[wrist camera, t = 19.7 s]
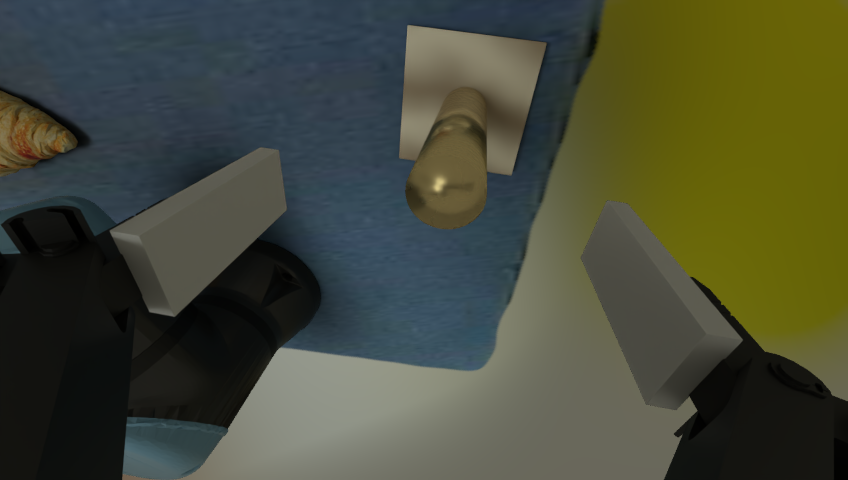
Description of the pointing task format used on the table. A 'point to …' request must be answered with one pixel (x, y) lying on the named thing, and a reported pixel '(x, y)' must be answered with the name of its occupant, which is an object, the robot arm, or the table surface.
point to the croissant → (28, 135)
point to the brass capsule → (452, 164)
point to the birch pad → (469, 67)
